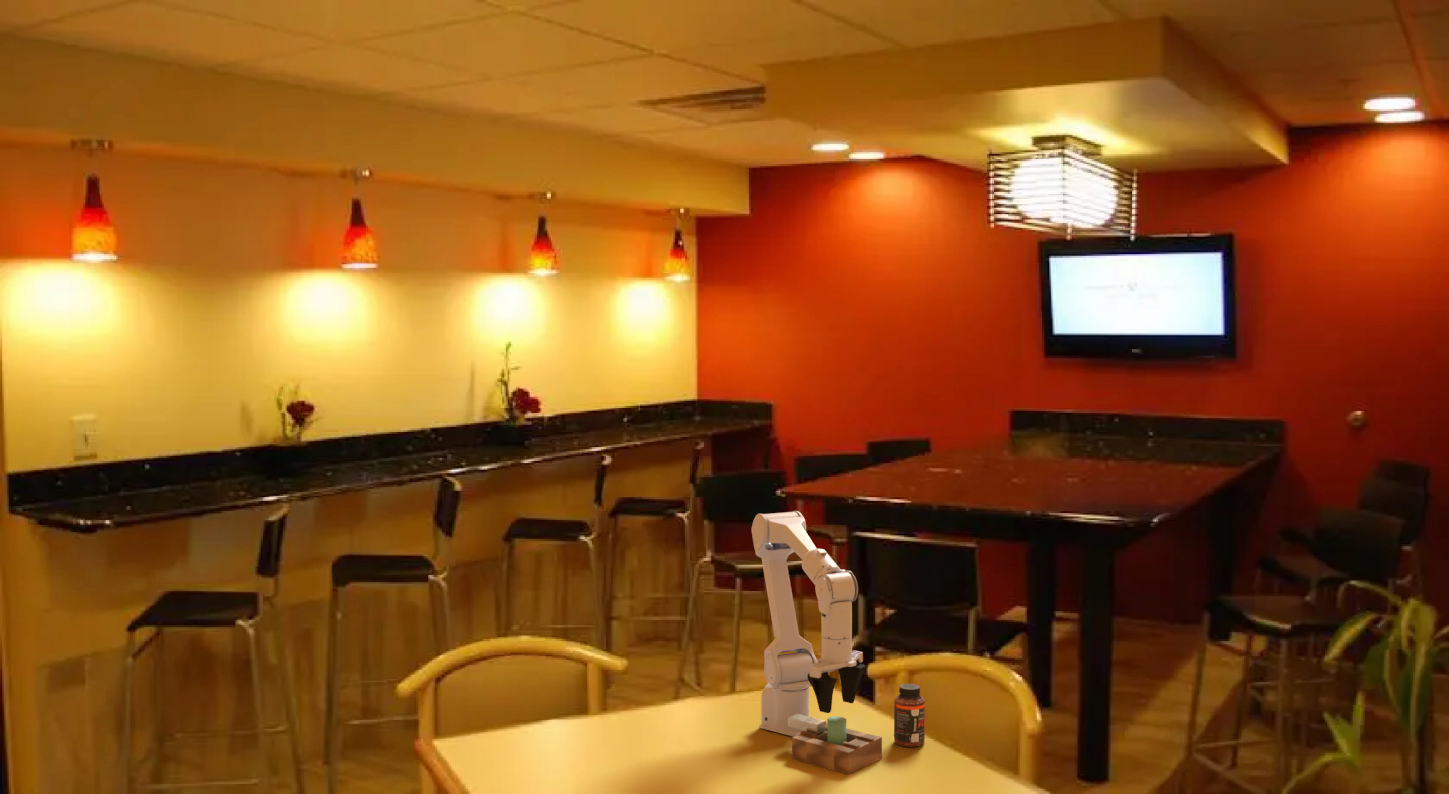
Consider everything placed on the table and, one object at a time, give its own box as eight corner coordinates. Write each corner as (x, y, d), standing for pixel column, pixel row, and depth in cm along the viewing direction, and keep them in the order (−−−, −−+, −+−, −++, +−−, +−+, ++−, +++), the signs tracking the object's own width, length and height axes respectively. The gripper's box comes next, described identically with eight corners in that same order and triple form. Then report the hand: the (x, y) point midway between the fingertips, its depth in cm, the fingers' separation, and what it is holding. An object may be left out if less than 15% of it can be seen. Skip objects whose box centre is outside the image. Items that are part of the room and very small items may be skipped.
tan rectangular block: (787, 726, 242) (787, 717, 242) (797, 722, 245) (797, 713, 245) (817, 734, 238) (817, 724, 238) (826, 730, 240) (826, 720, 240)
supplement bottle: (924, 749, 242) (924, 691, 241) (893, 747, 243) (893, 690, 242) (925, 739, 248) (925, 682, 247) (895, 737, 249) (895, 681, 248)
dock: (792, 758, 237) (791, 735, 237) (826, 743, 245) (826, 720, 245) (848, 774, 229) (848, 750, 228) (881, 758, 237) (881, 734, 237)
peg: (823, 756, 237) (823, 720, 236) (834, 751, 239) (834, 715, 239) (839, 760, 234) (839, 724, 234) (850, 755, 237) (850, 719, 237)
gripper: (831, 647, 227) (831, 720, 228) (875, 631, 238) (875, 701, 239) (800, 641, 232) (800, 713, 233) (845, 626, 243) (845, 695, 244)
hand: (836, 707), depth 236 cm, fingers open, 7 cm apart
